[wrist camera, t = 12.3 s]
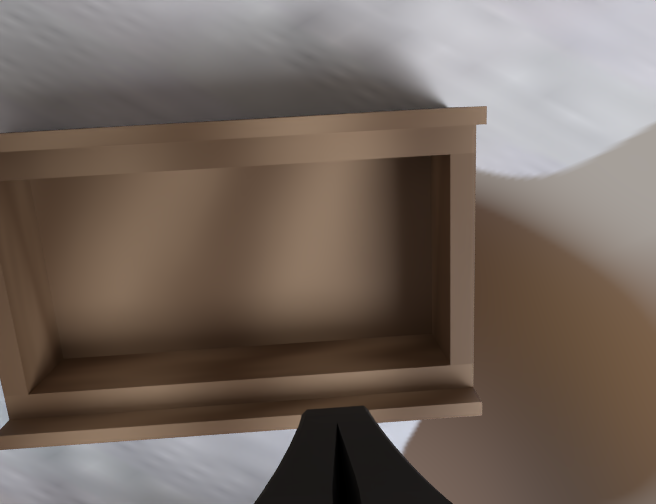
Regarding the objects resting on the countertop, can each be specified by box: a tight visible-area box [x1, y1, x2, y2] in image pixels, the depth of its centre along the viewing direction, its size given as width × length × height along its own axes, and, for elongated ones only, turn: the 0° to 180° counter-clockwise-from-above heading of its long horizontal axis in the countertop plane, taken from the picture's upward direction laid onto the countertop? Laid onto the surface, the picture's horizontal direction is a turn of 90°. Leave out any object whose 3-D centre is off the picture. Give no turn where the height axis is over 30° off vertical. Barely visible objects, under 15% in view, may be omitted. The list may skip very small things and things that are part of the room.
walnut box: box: [0, 106, 487, 450], centre depth 19 cm, size 16×10×4 cm, turn 93°
